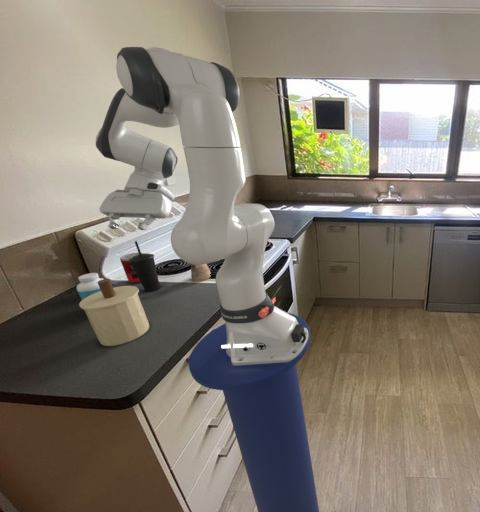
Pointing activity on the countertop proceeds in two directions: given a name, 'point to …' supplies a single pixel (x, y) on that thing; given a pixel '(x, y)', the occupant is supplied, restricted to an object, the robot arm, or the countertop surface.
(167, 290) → the countertop surface
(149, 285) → the drinking cup
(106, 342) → the beige canister
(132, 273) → the canned food
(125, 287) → the lid
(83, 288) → the pill bottle
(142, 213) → the robot arm
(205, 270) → the figurine
